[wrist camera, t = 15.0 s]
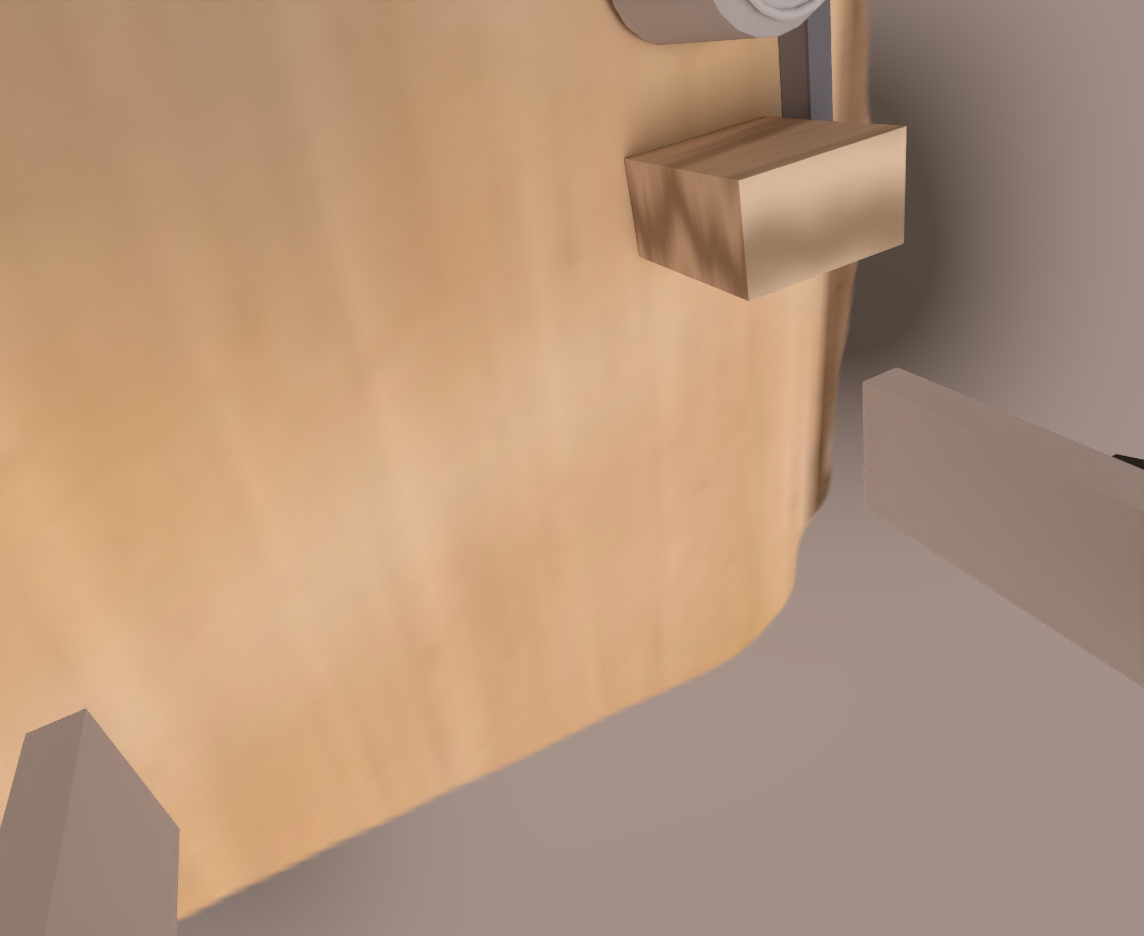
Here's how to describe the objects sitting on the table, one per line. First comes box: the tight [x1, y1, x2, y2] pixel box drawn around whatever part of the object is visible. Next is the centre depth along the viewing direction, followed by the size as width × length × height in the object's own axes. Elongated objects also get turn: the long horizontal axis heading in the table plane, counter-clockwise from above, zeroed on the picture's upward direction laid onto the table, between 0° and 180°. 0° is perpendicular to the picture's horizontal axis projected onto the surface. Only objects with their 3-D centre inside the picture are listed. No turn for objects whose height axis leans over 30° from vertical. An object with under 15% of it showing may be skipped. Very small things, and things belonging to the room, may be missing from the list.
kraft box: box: [624, 117, 906, 301], centre depth 44 cm, size 6×10×12 cm, turn 103°
